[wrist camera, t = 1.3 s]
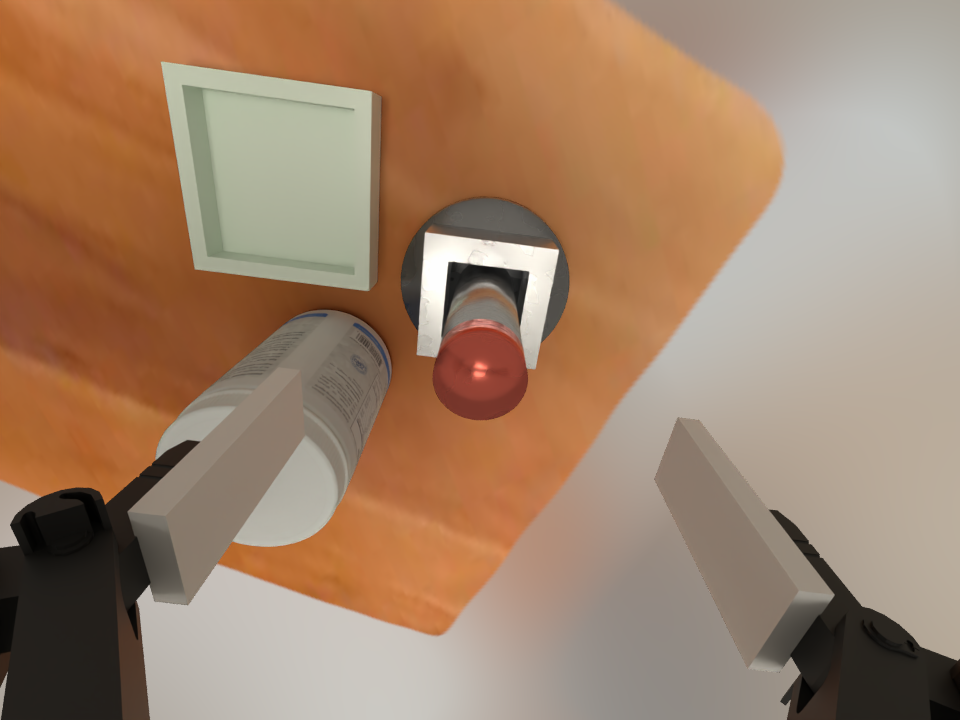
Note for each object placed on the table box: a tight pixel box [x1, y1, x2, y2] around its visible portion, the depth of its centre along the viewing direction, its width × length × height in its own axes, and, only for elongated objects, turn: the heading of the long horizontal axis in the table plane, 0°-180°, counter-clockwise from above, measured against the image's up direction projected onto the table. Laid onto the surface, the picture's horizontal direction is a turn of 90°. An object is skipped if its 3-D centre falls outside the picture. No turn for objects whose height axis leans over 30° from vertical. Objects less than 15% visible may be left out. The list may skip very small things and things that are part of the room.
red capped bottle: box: [433, 264, 528, 420], centre depth 24 cm, size 4×4×14 cm
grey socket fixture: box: [401, 197, 569, 369], centre depth 30 cm, size 12×12×6 cm
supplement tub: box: [156, 310, 392, 547], centre depth 29 cm, size 10×10×15 cm
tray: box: [161, 62, 382, 291], centre depth 28 cm, size 12×12×2 cm
